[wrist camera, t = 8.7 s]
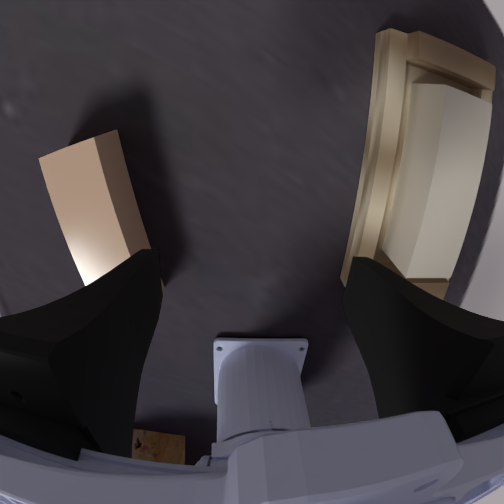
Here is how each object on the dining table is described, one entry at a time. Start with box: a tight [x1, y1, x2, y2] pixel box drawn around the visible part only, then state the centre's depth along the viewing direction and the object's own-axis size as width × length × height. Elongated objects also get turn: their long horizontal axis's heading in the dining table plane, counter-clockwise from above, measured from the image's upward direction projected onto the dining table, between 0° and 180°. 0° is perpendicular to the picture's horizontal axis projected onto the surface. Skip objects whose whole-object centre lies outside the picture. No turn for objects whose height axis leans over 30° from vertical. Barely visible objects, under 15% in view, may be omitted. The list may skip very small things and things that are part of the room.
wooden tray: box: [340, 28, 496, 300], centre depth 18 cm, size 18×9×4 cm, turn 176°
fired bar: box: [39, 130, 164, 293], centre depth 19 cm, size 12×4×4 cm, turn 9°
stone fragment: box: [132, 429, 185, 465], centre depth 32 cm, size 14×10×15 cm
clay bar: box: [382, 84, 492, 278], centre depth 17 cm, size 12×4×4 cm, turn 176°
